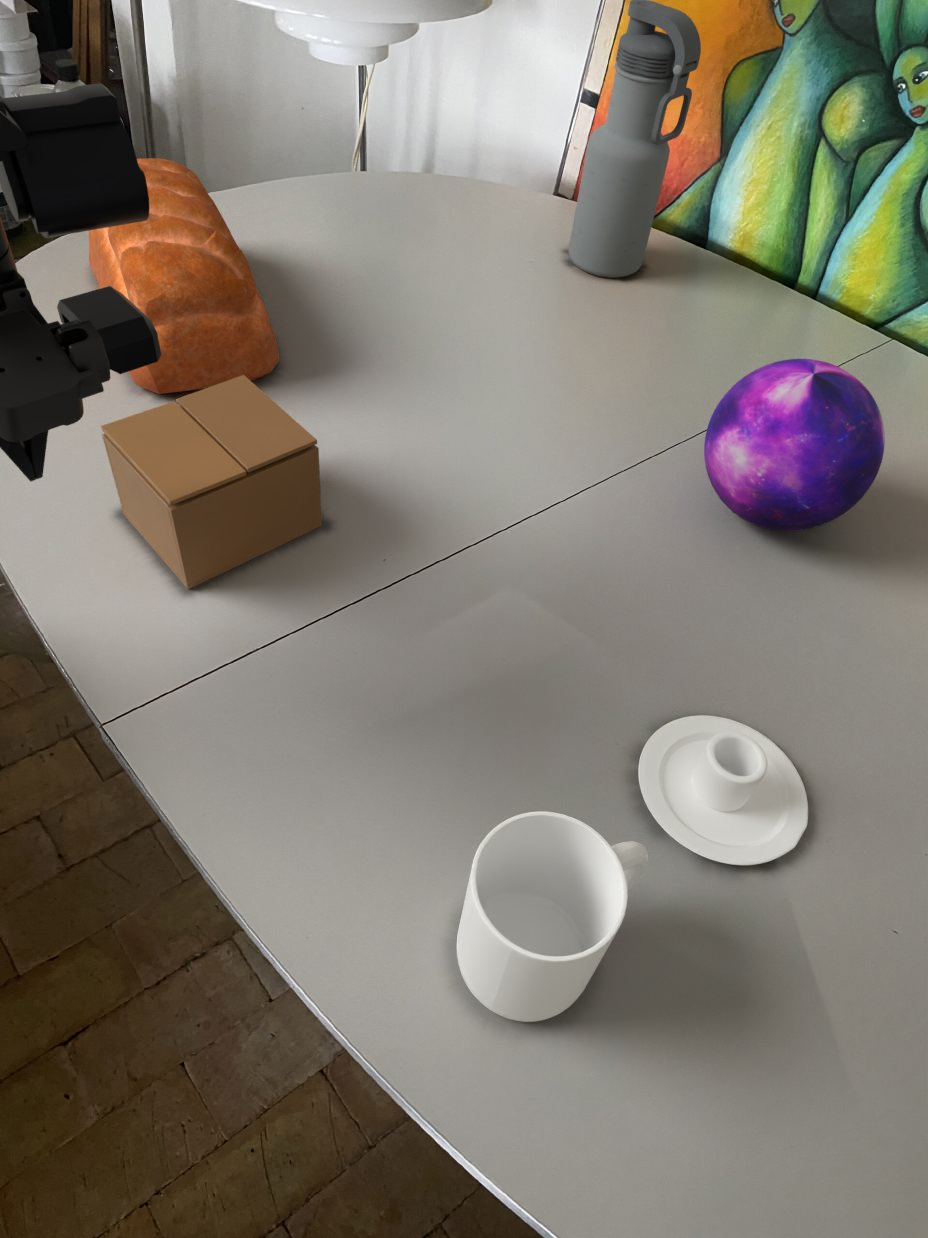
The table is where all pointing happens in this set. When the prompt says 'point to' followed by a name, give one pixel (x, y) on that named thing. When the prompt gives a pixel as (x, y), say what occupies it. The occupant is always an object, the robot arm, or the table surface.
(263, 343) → the bread
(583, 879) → the mug
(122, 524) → the table surface
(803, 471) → the decorative orb
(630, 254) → the water bottle
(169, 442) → the flap
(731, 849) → the candle holder
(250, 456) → the carton
